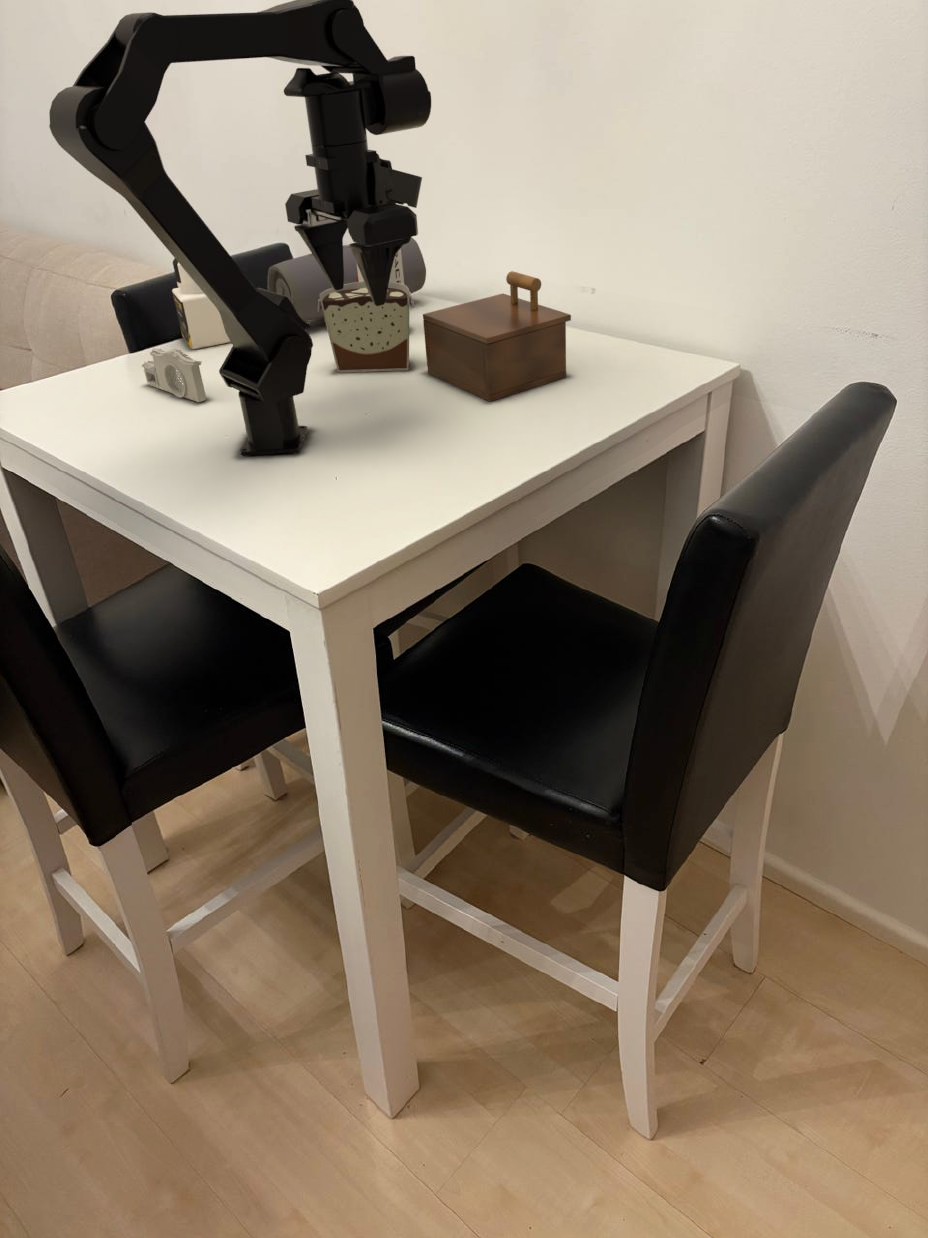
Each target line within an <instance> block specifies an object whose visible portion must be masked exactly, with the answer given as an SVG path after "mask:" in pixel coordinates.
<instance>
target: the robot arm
mask: <svg viewBox="0 0 928 1238" xmlns="http://www.w3.org/2000/svg"><path fill="white" fill-rule="evenodd" d="M260 58H269V59H274V60H277V61H282V62H287V63H292V64H298V65H304V66H314V67H315V66H317V67H319V66H320V67H321V68H323V69H324V70H325V71H327V73H320V74H316V73H314V71H313V70H312V69H311V68H309V67H296V69H295V72H294V75H293V77H292V78H291V79H290V80H289V82H288V83H286V86H285V87H284V89H283V94H284V95H285V96H286V97H295V98H296V97H297V98H304V103H305V109H306V110H305V111H306V116H307V123H308V130H309V137H310V145H311V152H312V153H310V154H305V162H306V163H305V164H306V167H311V168H314V175H315V180H316V189H310V190H304V191H300V192H299V191H298V192H294V193H291V194H290V195H289V197H288V198H287V200H286V202H285V203H284V205H285V211H286V218H287V222H288V223H291V224H295V225H294V227H293V228H294V230H295V232H297V233H298V234H299V236H300V237H301V239H302V240H303V242H304V244H305V245H306V246H307V248H308V250H309V251H310V252H311V253H310V254H313V256H314V257H315V259H316V261H317V262H318V264H319V265H320V267H321V269H322V270H323V272H324V274H325V275H326V277H327V279H328V280H329V282H330V284H331V285H332V287H333V289H334V290H341V289H343V287H344V262H343V246H344V241H343V240H344V236H345V234H346V232H347V231H348V234H349V236H350V238H351V240H352V242H351V243H349V245H350V247H351V250H352V252H353V255H354V257H355V260H356V262H357V265H358V267H359V270H360V272H361V275H362V277H363V280H364V282H365V285H366V287H367V290H368V292H369V294H370V296H371V299H372V301H373V303H374V305H375V306H380V305H384V303H385V300H386V295H387V290H388V285H389V279H390V274H391V270H392V265H393V262H394V258H395V255H396V253H397V252H398V251H399V250H400V248H401V247H402V246H403V245H404V244H407V243H409V242H410V240H411V237H412V238H413V237H417V236H418V234H419V230H418V229H419V228H418V218H417V214H416V213H415V212H414V211H413V210H412V209H411V208H414V209H416V208H417V207H418V203H419V198H420V193H421V192H420V191H421V185H422V182H423V181H422V180H423V176H419V175H417V174H416V175H415V174H412V173H409V172H404V171H402V170H401V171H400V170H397V169H393V166H392V162H391V161H390V160H389V159H383V158H381V157H380V154H378V153H377V150H373V149H369V145H368V135H367V131H368V132H369V133H370V134H372V135H374V136H379V135H386V134H390V133H391V134H392V133H396V132H402V131H407V130H412V129H418V128H421V127H423V126H424V125H426V124H427V122H428V121H429V119H430V116H431V112H432V111H431V110H432V94H431V93H432V92H431V91H430V90H429V87H428V84H427V82H426V79H425V77H424V75H423V74H422V73H421V72H420V71H419V70H418V69H417V66H416V57H415V56H414V55H398V56H393V57H391V58H389V59H387V58H386V56H385V55H384V53H383V51H382V50H381V48H380V46H379V45H378V44H377V43H376V41H375V40H374V38H373V37H372V36H371V34H370V32H369V30H368V29H367V28H366V26H365V23H364V18H363V16H362V14H361V11H360V10H359V8H358V7H357V5H356V4H355V2H354V0H291V1H288V2H284V3H281V4H277V5H275V6H271V7H270V8H267V9H263V10H260V11H256V12H228V13H225V12H224V13H199V14H195V13H194V14H167V15H166V14H165V15H163V14H160V13H157V12H135V13H129V14H126V15H124V16H123V17H122V18H121V19H119V21H118V23H117V25H116V27H115V28H114V30H113V31H112V33H111V35H110V36H109V38H108V40H107V41H106V43H104V45H103V46H102V47H101V48H100V49H99V50H98V51H97V53H96V54H95V55H94V56H93V57H92V58H91V59H90V61H89V62H88V63H86V65H85V67H84V68H83V69H82V70H81V72H80V73H79V75H78V76H77V78H76V80H75V82H74V83H73V85H72V86H68V87H65V88H64V89H62V90H60V91H59V92H57V94H56V96H54V99H53V100H52V101H51V105H50V109H49V130H50V132H51V135H52V136H53V138H54V140H55V141H56V143H57V144H58V145H59V147H60V148H61V149H62V150H63V151H65V152H66V153H67V154H68V155H69V156H71V157H72V158H73V159H74V160H75V161H76V162H77V163H79V164H80V165H81V166H82V167H83V168H84V169H86V170H87V171H88V172H89V173H90V174H91V175H93V176H94V177H95V178H97V179H98V180H100V181H101V182H102V183H104V184H105V185H107V186H108V187H110V188H111V189H112V190H113V191H115V192H116V193H118V194H119V195H120V196H121V197H123V198H124V200H126V202H127V203H128V204H129V205H130V206H131V208H132V209H133V210H134V211H135V212H136V214H138V216H139V217H140V218H141V219H142V221H143V222H144V223H145V224H146V226H148V228H149V229H150V230H151V231H152V232H153V234H154V235H155V236H156V238H157V239H158V240H159V241H160V242H161V244H163V246H164V247H165V248H166V249H167V250H168V252H169V253H170V254H171V255H172V257H173V259H176V260H177V261H178V262H179V264H180V265H181V266H182V267H183V268H184V270H185V271H186V272H187V273H188V274H189V276H190V277H191V278H192V279H193V280H194V282H195V283H196V284H197V285H198V286H199V288H200V289H201V290H202V291H203V292H204V294H205V295H206V296H207V297H208V298H209V300H210V301H211V302H212V303H213V304H214V306H215V307H216V308H217V309H218V311H219V313H220V315H221V319H222V322H223V325H224V329H225V332H226V334H227V336H228V338H229V339H230V341H231V342H230V343H231V344H232V346H231V348H230V350H229V352H228V354H227V355H226V357H225V359H224V361H223V363H222V364H221V366H220V368H219V370H218V373H219V375H220V377H221V378H222V380H223V381H224V383H225V386H227V387H229V388H231V389H232V388H233V389H234V390H237V391H238V398H239V403H240V408H241V413H242V416H243V422H244V423H243V424H244V428H245V432H246V438H245V440H244V441H243V444H242V446H241V447H240V450H239V453H240V455H241V456H256V455H257V456H258V455H275V454H278V455H279V454H293V453H295V454H296V453H299V452H300V451H301V448H302V446H303V443H304V442H305V438H306V436H307V433H308V430H309V429H308V426H307V425H299V421H298V416H297V411H296V405H295V399H294V397H295V396H298V395H301V394H303V393H304V392H305V385H306V379H307V372H308V365H309V364H310V360H311V357H312V350H313V347H314V343H313V339H312V337H311V335H310V333H309V332H308V330H307V329H308V328H310V327H311V324H310V323H308V321H306V322H305V321H303V320H302V319H301V318H300V317H299V315H298V314H297V312H296V310H295V308H294V306H293V304H292V303H291V301H290V300H289V299H288V297H286V296H283V295H280V294H277V293H274V292H271V291H268V289H264V288H262V287H257V288H256V287H255V285H254V284H253V283H252V282H251V280H250V279H249V278H248V277H247V275H246V274H245V273H244V271H243V269H241V268H240V266H239V265H238V263H237V262H236V261H235V259H233V257H232V256H231V255H230V253H229V252H228V251H227V249H226V248H225V247H224V246H223V245H222V243H221V242H220V240H218V238H217V237H216V236H215V234H214V233H213V232H212V230H211V229H210V228H209V226H208V225H207V224H206V223H205V221H204V220H203V219H202V218H201V216H200V215H199V213H197V211H196V210H195V209H194V207H193V205H191V203H190V202H189V201H188V200H187V198H186V197H185V196H184V194H183V193H182V192H181V190H180V189H179V188H178V187H177V186H176V184H175V183H174V181H173V180H172V179H171V177H169V175H168V174H167V171H166V169H165V167H164V163H163V160H162V157H161V154H160V150H159V147H158V145H157V141H156V140H155V138H154V136H153V133H152V132H151V130H150V129H149V127H148V125H147V123H146V120H148V119H147V118H148V117H149V116H150V114H151V112H152V110H153V109H154V107H155V105H156V103H157V101H158V97H159V93H160V91H161V87H162V83H163V81H164V77H165V74H166V73H167V70H168V69H169V67H170V66H171V64H176V63H177V64H178V63H180V64H181V63H194V62H195V63H196V62H209V61H210V62H211V61H213V62H214V61H227V60H228V61H229V60H246V59H260ZM343 74H346V75H347V74H352V80H351V81H348V79H347V78H346V77H345V76H344V75H343ZM386 201H389V202H393V203H387V202H386ZM394 203H396V204H394ZM405 204H406V205H407V206H406V205H405ZM375 205H376V206H375ZM371 206H372V207H371ZM354 242H356V243H354Z"/></svg>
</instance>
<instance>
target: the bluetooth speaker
mask: <svg viewBox="0 0 928 1238" xmlns="http://www.w3.org/2000/svg"><path fill="white" fill-rule="evenodd" d="M401 256H402V266H403V277H404V285H406V286H407V287H408V288H409V291H410V292H411V294H413V293H416V292H418V291H420V290H421V289H422V288H423V287H424V285H425V284H426V279H427V268H426V263H425V259H424V256H423V253H422V251H421V248H420V246H419V244H418V242H417V241H416V239H415V238H413V237H411V240H410V242H409V243H407V244H404V245H403V246H402V247H401ZM343 262H344V284H348V283H355V282H359V279H358V271H357V263H356V260H355V257H354V255H353V252H352V250H351V247H350V244H343ZM267 270H268V271H267V291H271V292H274V293H277V294H280V295H283V296H286V297H288V299H289V300H290V301H291V303H292V304H293V306H294V308H295V310H296V312H297V314H298V315H299V317H300V318H301V319H302V320H303V321H305V322H310V321H311V322H312V321H317V320H320V322H322V323H323V324H326V322H325V318H324V314H323V310H322V309H321V310H320V311H318V300H319V299H320V296H319V295H320V294H321V293H322V292H324V291H325V290H327V289H330V288H333V287H332V285H331V284H330V282H329V280H328V279H327V277H326V275H325V274H324V272H323V270H322V269H321V267H320V265H319V264H318V262H317V261H316V259H315V257H314V256H313V254H312V253H309V254H305V255H302V256H298V257H294V258H291V259H287V260H284V261H281V262H278V263H276V264H273V265H271V266H270V267H268V269H267Z"/></svg>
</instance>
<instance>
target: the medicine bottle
mask: <svg viewBox="0 0 928 1238" xmlns="http://www.w3.org/2000/svg"><path fill="white" fill-rule="evenodd" d="M172 266H173V267H172V268H173V270H174V271H173V272H174V276H175V280H176V284H177V287H174V288H172V289H171V293H172V297H173V302H174V306H175V311H176V315H177V319H178V324H179V328H180V332H181V336H182V338H183V339H184V340H185V342H186V343H187V344H188V346H189V347H190V348H191V349H192V350H198V349H203V348H208V347H212V346H218V345H223V344H228V343H231V341H230V339H229V338H228V336H227V334H226V332H225V329H224V325H223V322H222V319H221V315H220V313H219V311H218V309H217V308H216V307H215V306H214V304H213V303H212V302H211V301H210V300H209V298H208V297H207V296H206V295H205V294H204V292H203V291H202V290H201V289H200V288H199V286H198V285H197V284H196V283H195V282H194V280H193V279H192V278H191V277H190V276H189V274H188V273H187V272H186V271H185V270H184V268H183V267H182V266H181V265H180V264H179V262H178V261H177V260H176V259H175V258H173V260H172Z"/></svg>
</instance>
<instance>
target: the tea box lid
mask: <svg viewBox="0 0 928 1238" xmlns="http://www.w3.org/2000/svg"><path fill="white" fill-rule="evenodd" d="M505 278H506V283H507V284H508V285H509V289H510V290H509V291H510V292H509V293H510V294H506V293H499V294H495V295H492V296H487V297H484V298H479V299H476V300H472V301H469V302H465V303H461V304H455V305H452V306H449V307H444V308H441V309H437V310H433V311H430V312H425V313H422V319H423V320H426V321H428V322H431V323H434V324H436V325H439V326H441V327H444V328H447V329H449V330H452V331H454V332H457V333H460V334H462V335H465V336H467V337H470V338H473V339H475V340H478V341H481V342H483V343H486V344H489V343H493V342H496V341H500V340H503V339H507V338H510V337H514V336H517V335H521V334H524V333H528V332H531V331H535V330H538V329H542V328H546V327H549V326H553V325H556V324H560V323H563V322H566V323H567V322H570V321H572V315H571V314H570V313H567V312H563V311H561V310H557V309H554V308H552V307H547V306H545V305H541V304H539V291H540V290H541V287H542V281H541V279H540V278H538V277H535V276H531V275H528V274H523V273H519V272H517V271H513V270H512V271H509V272H508V273H507V275H506V277H505ZM518 288H519V289H523V290H526V291H529V300H530V301H529V300H525V299H523V298H520V297H519V289H518ZM423 320H422V321H423Z"/></svg>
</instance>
